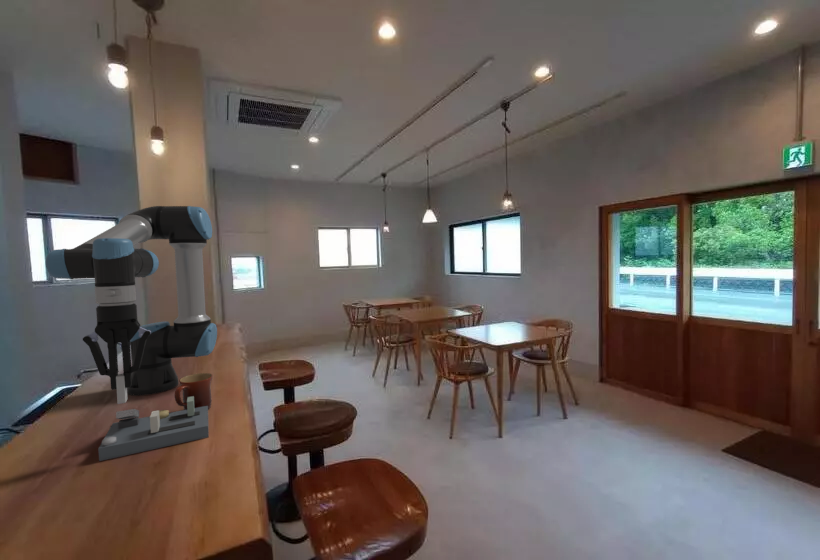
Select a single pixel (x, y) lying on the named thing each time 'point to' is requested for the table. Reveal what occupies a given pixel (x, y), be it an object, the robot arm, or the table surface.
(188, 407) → the grey block
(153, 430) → the pale grey cuboid
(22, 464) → the table surface
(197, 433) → the console
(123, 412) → the block
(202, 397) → the mug
